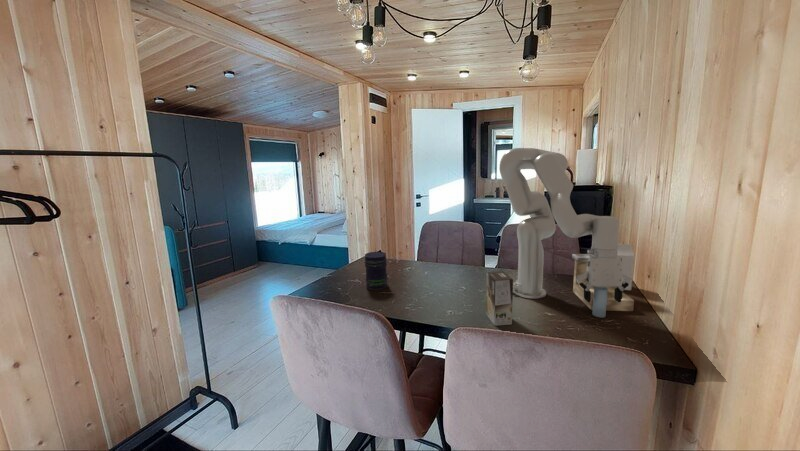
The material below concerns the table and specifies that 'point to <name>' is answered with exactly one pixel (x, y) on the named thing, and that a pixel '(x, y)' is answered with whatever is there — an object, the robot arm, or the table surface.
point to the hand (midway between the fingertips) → (602, 300)
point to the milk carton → (626, 261)
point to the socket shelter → (580, 269)
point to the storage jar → (376, 270)
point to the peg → (600, 301)
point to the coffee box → (499, 298)
